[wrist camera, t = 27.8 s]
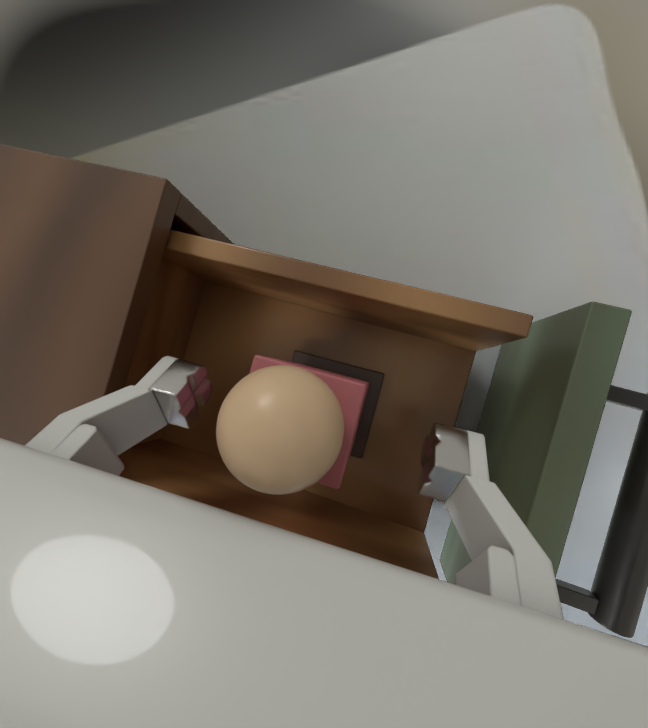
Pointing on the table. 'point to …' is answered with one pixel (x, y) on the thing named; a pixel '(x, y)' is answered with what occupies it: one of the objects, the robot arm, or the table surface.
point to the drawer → (400, 407)
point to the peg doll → (296, 422)
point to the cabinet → (76, 279)
